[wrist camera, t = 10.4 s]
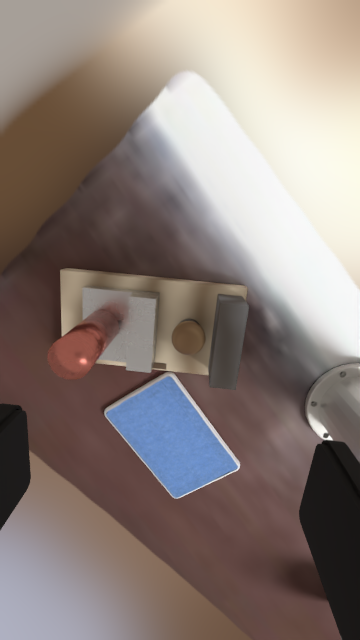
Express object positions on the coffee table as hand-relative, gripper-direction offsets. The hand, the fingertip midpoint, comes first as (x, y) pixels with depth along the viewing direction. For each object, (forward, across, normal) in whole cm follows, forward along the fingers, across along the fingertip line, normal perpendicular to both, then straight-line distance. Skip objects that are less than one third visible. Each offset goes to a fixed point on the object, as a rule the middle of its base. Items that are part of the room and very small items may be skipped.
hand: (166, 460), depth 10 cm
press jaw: (+28, +8, +5) cm, 30 cm away
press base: (+30, +4, +5) cm, 31 cm away
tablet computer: (+31, 0, +23) cm, 39 cm away
